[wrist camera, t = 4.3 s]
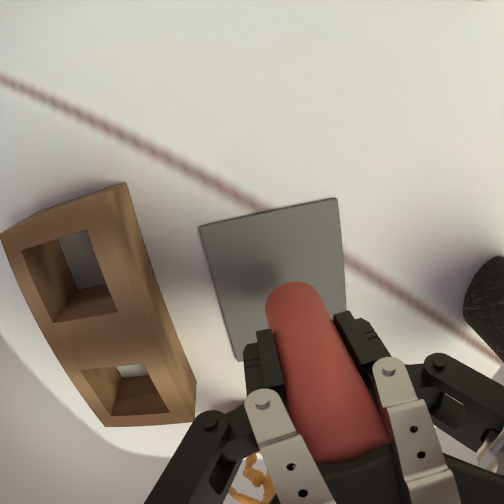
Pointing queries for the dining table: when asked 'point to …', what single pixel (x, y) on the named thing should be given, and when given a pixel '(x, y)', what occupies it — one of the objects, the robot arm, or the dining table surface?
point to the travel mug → (487, 305)
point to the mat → (274, 262)
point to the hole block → (104, 311)
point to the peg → (321, 379)
